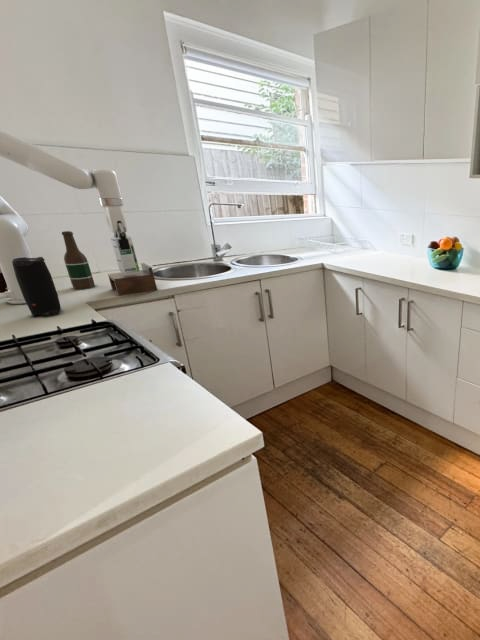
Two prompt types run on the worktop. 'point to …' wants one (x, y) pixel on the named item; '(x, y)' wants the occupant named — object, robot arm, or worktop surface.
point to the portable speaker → (37, 286)
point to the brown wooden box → (133, 281)
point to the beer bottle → (76, 264)
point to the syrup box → (125, 256)
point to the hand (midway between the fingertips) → (123, 247)
